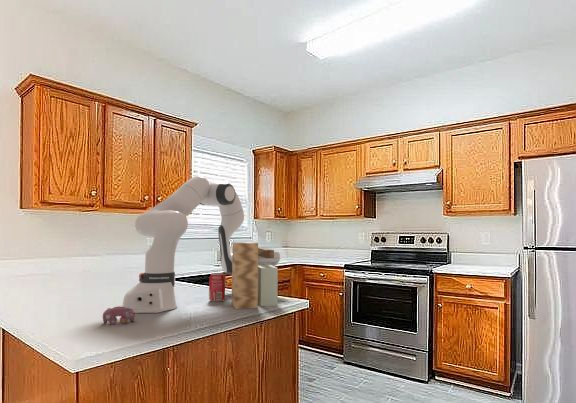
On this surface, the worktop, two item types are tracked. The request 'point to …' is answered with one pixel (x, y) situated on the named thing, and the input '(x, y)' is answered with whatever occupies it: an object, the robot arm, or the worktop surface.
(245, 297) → the oak stand
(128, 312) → the video game controller
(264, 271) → the pale green block
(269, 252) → the walnut rod
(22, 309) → the worktop surface
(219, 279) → the soda can
